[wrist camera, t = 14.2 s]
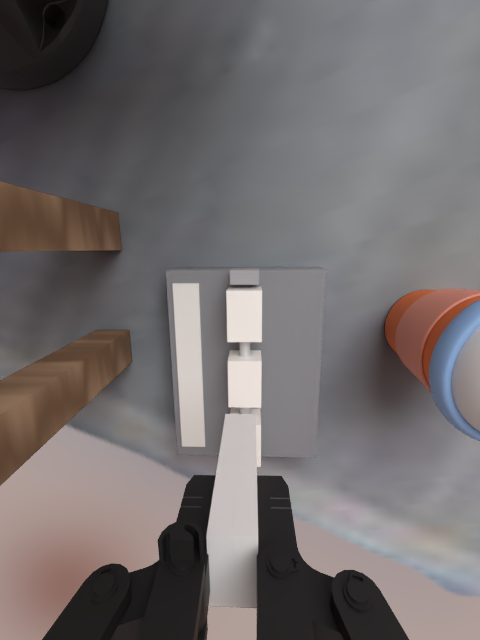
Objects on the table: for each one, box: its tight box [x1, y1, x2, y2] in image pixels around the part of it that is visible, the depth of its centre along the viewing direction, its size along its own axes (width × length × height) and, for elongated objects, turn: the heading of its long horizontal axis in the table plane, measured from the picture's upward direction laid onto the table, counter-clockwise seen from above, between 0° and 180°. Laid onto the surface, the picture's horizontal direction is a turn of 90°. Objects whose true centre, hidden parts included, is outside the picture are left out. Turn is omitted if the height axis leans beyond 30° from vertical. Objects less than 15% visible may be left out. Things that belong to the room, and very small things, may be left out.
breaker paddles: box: [226, 286, 262, 467], centre depth 23 cm, size 14×2×2 cm, turn 1°
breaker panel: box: [166, 267, 326, 474], centre depth 25 cm, size 16×12×5 cm
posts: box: [0, 181, 132, 485], centre depth 18 cm, size 13×4×17 cm, turn 0°
